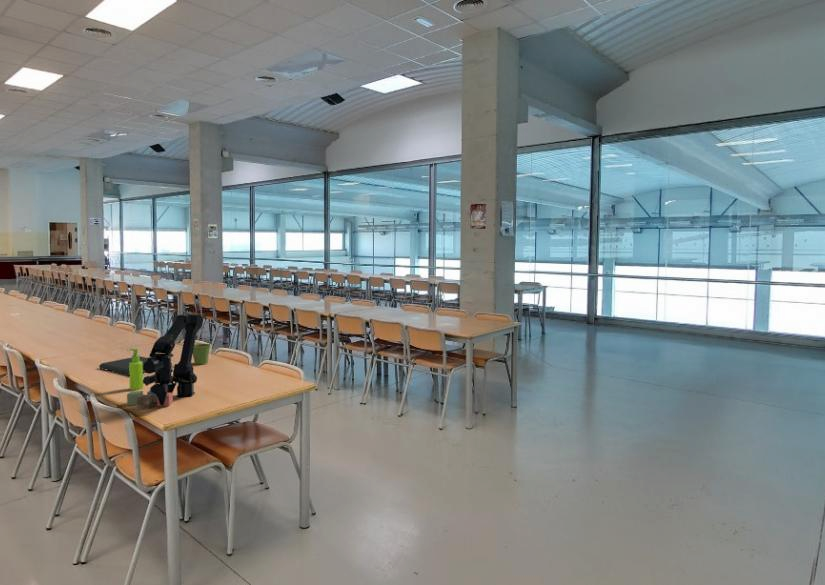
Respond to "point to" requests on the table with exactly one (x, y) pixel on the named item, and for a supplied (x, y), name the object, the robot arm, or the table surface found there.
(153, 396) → the slate cube
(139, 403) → the walnut cube
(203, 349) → the plant pot
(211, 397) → the table surface
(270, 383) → the table surface
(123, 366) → the closed laptop
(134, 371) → the soap dispenser
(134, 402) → the olive cube
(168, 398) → the red cube
